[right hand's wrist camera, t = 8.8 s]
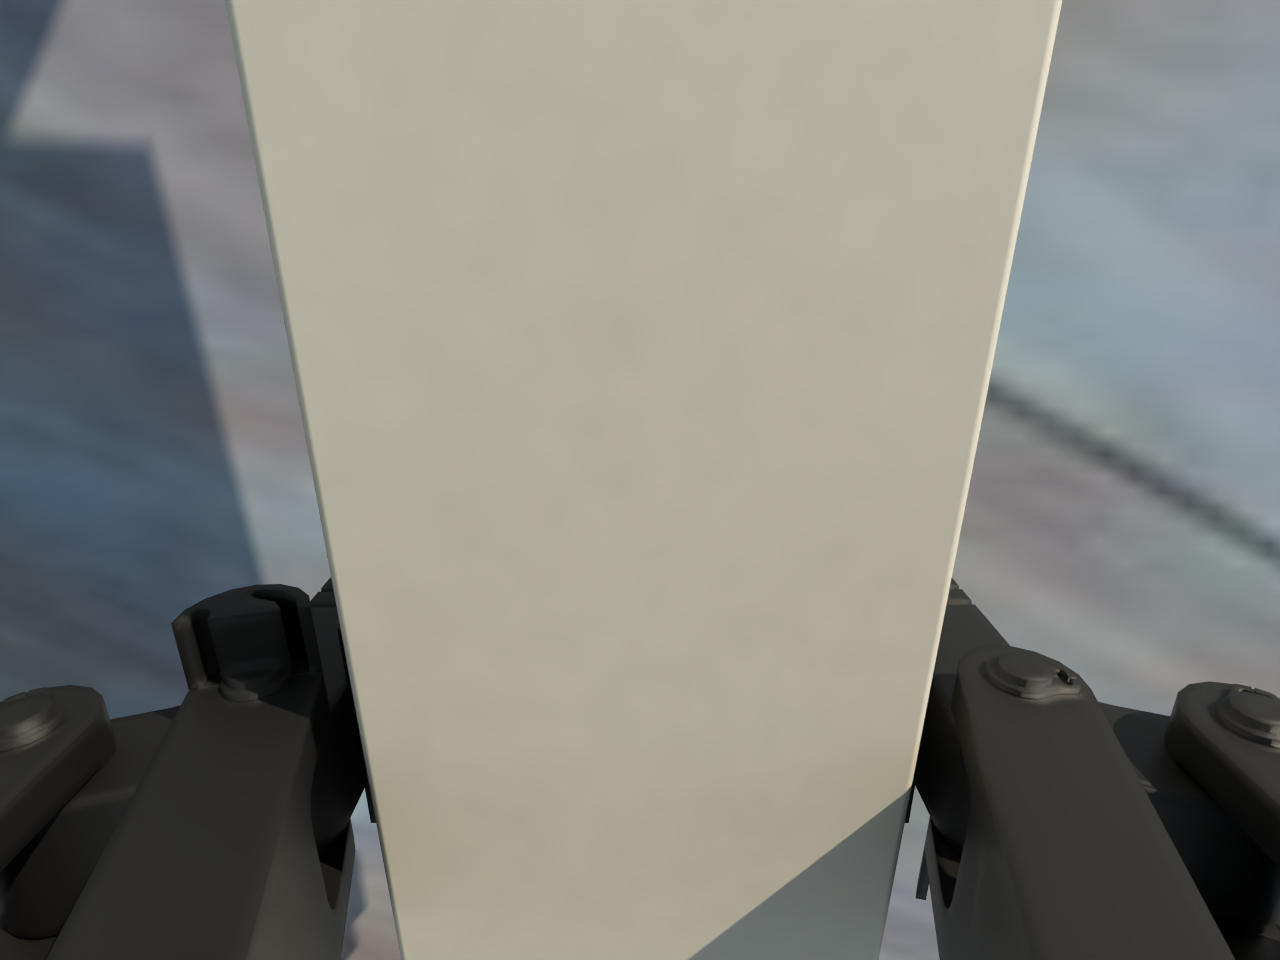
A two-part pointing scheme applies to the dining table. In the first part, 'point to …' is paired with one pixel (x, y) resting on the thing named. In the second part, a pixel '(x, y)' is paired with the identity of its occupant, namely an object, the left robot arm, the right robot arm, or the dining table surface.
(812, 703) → the beam
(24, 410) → the dining table surface
